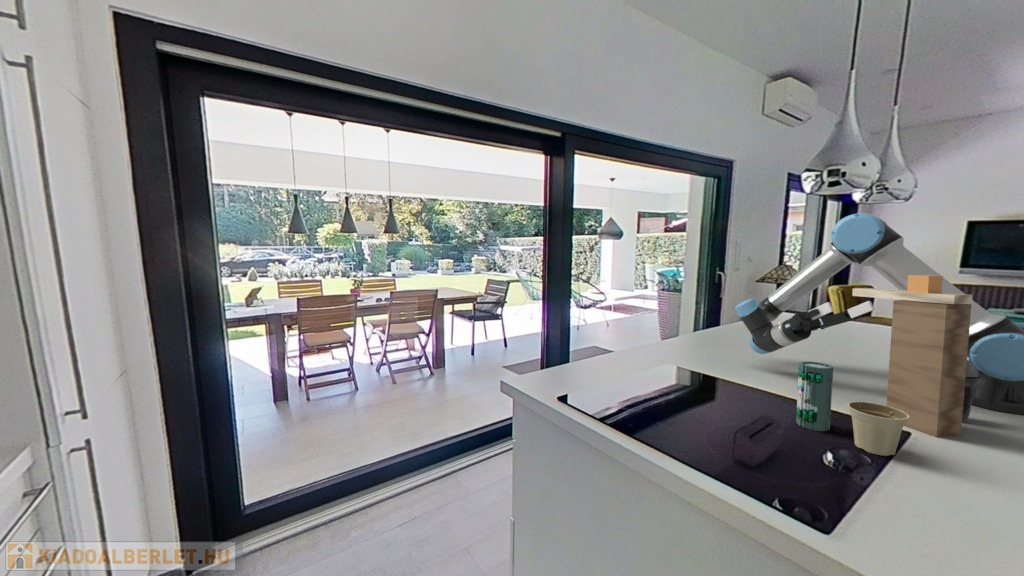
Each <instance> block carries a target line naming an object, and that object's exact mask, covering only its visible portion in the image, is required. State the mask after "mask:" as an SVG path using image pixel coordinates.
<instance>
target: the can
mask: <svg viewBox="0 0 1024 576" xmlns="http://www.w3.org/2000/svg"><path fill="white" fill-rule="evenodd" d="M797 376H798V377H797V397H796V418H795V419H796V420H795V423H796V424H797V425H798V426H799V427H802V428H803V429H804V428H805V429H808V430H812V431H815V432H828V431H830V430H831V413H832V397H833V380H834V379H833V377H834V366H832V365H830V364H826V363H823V362H815V361H806V360H805V361H800V362H799V363H798V375H797Z"/></svg>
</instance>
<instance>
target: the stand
mask: <svg viewBox="0 0 1024 576" xmlns="http://www.w3.org/2000/svg"><path fill="white" fill-rule="evenodd" d="M892 303H893V305H892V318H891V319H892V320H891V332H890V334H891V335H890V349H889V360H888V361H889V363H888V365H889V366H888V376H887V377H888V378H887V379H888V380H887V391H886V395H887V396H886V404H885V405H886V406H889V407H893V408H896V409H899V410H901V411H903V412H905V413H907V414H908V415H909V416H910V418H909V419H908V420H907V421H906V424H905V425H904V426H903V427H908V428H910V429H913V430H916V431H918V432H920V433H924V434H927V435H929V436H932V437H934V438H939V437H940V438H942V437H950V436H951V437H952V436H959V435H962V424H963V423H962V414H963V402H964V390H965V378H966V366H967V360H968V357H967V353H968V341H969V329H970V317H971V305H972V304H944V303H932V302H920V301H908V300H897V299H893V302H892Z"/></svg>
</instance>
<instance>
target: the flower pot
mask: <svg viewBox="0 0 1024 576" xmlns="http://www.w3.org/2000/svg"><path fill="white" fill-rule="evenodd" d="M886 405H887V404H881V403H876V402H870V401H869V402H868V401H861V400H860V401H849V402H847V407H848V409H849V413H850V414H851V415H850V416H851V420H852V429H853V440H854V445H855V446H856V447H857V448H858V449H862V450H864V451H866V452H867V453H869V454H873V455H877V456H882V457H888V456H895V455H896V452H897V448H898V444H899V441H900V437H901V434H902V431H903V427H905V426H904V425H905V424H906V421H907V420H908V419H909V418H910V416H909V415H908V414H907V413H905V412H903V411H901V410H899V409H896V408H893V407H889V406H886Z"/></svg>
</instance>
